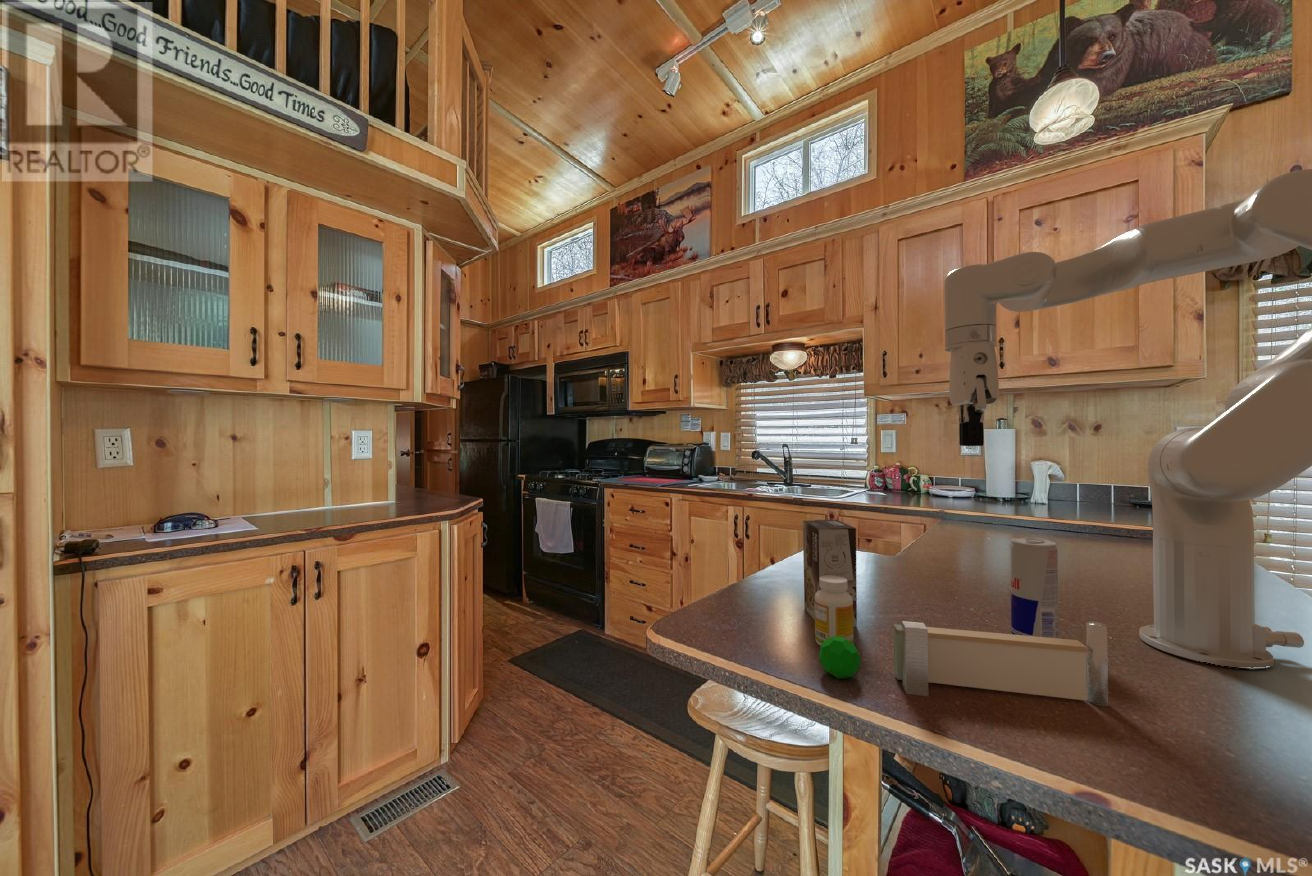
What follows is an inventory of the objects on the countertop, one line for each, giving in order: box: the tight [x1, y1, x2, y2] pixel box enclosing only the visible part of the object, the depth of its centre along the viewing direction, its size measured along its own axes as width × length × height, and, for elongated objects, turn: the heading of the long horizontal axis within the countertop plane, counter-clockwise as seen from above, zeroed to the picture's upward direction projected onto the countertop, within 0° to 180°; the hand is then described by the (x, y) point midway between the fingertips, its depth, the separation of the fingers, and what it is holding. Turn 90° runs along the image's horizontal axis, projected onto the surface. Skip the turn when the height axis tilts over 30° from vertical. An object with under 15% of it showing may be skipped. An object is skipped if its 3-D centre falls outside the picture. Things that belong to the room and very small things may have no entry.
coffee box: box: [802, 519, 858, 628], centre depth 83 cm, size 9×6×16 cm
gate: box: [893, 623, 1088, 702], centre depth 59 cm, size 20×2×6 cm, turn 74°
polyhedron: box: [818, 636, 861, 679], centre depth 63 cm, size 5×5×5 cm
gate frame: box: [901, 620, 1109, 707], centre depth 57 cm, size 22×2×9 cm, turn 81°
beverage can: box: [1009, 537, 1059, 639], centre depth 73 cm, size 6×6×15 cm
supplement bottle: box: [814, 575, 854, 647], centre depth 72 cm, size 5×5×10 cm
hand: (971, 445), depth 84 cm, fingers closed
